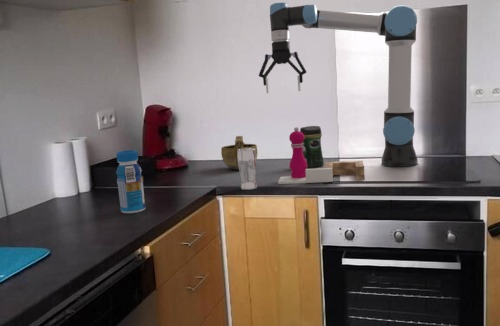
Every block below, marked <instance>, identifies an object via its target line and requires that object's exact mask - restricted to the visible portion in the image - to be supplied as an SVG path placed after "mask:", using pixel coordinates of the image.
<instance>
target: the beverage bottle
mask: <svg viewBox="0 0 500 326" xmlns="http://www.w3.org/2000/svg"><path fill="white" fill-rule="evenodd" d="M138 160H139V154H138V150H135V149H132V150H131V149H129V150H121V151H117V152H116V161H117V163H119V164H118V166H117V168H116V173H115V174H116V175H117V179H116V183H117V188H118V189H117V190H118V197H119V206H120V207H119V209H120V212H121V213H122V214H135V213H140V212H143V211H145V210H146V200H145V192H144V189H145V188H144V176H143V175H142V172H143V170H142V168H141V166H140V164H139V163H138Z"/></svg>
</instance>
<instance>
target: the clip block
mask: <svg viewBox="0 0 500 326" xmlns="http://www.w3.org/2000/svg"><path fill="white" fill-rule="evenodd" d="M324 168H332V174H333V176H343V175H346V176H347V175H355V178H356V180H358V179H359V180H365V179H366V178H365V177H366V176H365V164H364V162H363V160H349V161H348V160H346V161H344V160H343V161H324ZM359 180H358V181H359Z"/></svg>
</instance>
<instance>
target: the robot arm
mask: <svg viewBox="0 0 500 326" xmlns="http://www.w3.org/2000/svg"><path fill="white" fill-rule="evenodd" d="M269 20H270V21H269V22H270V34H271V35H270V37H271V38H270V39H271V41H272V43H271V50H272V51H271V54H265V55H264V61H263V63H262V66H261V68H260V71H259V73H258V77H260V78H262V79H263V80H262V81H263V83H262V84H263V86H265V88H266V89H265V90H266V94H270V85H269V77H268V76H269V74H270V73H271V72H272V70H273V68H274V67H275V66H276V65H282V64H284V65H285V64H289V66H290V67H291V68H292V69H293V70H294V71H295V73H297V74H298V75H297V89H298V91H297V92H300V91H301V90H302V89H301V84H303V82H304V81H303V75H305V74H307V70H306V67H305V66H304V65H303V62H302V61H301V59H300V58H299V54H298V52H297V51H294V52H291V45H290V44H291V43H290V41H289V40H290V30H289V28H290V27H292V26H302V27H303V28H304V29H326V30H336V31H337V30H338V31H350V32H351V31H353V32H363V33H365V32H366V33H375V34H378V36H383V37H384V43H385V44H386V46H388V82H387V83H388V87H387V93H388V94H387V95H388V96H387V108H385V110H384V111H383V128H382V133H383V137H384V141H385V142H384V143H385V144H384V149H383V150H384V151H383V154H382V157H381V165H382V166H384V167H393V168H394V167H396V168H397V167H400V168H401V167H403V168H404V167H412V166H416V165H418V164H419V163H418V162H419V161H418V156H417V154H416V153H417V152H416V151H415V148H414V136H415V110H414V109H413V108H412V107H411V95H412V94H411V92H412V91H411V89H412V87H411V86H412V85H411V84H412V51H413V50H412V48H413V47H412V46H413V45H414V44H415V43H416V42H417V24H418V15H417V13H416V12H415V10H414V9H413V8H411V7H409V6H408V5H396V6H394V7H393V8H391V9H390V10H389V11H382V12H380V13H379V14H378V13H368V12H367V13H365V12H350V11H348V12H347V11H335V10H334V11H333V10H320V9H319V10H318V9H317V6H316V5H315V4H305V5H296V6H288V3H286V2H276V3H275V2H274V3H272V4H270V6H269ZM291 57H293V58H295V61H296V62H297V64H298V65H299V68H300V69H301V70H300V69H299V68H298V67H297V66H296V65H295V63H293V62H292V60H290V59H291ZM271 58H272V60H273V61H272V62H271V63H270V65H269V67H268V68H267V65H268V64H269V63H268V62H269V60H270V59H271ZM266 68H267V70H266ZM265 70H266V71H265Z"/></svg>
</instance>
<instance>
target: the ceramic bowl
mask: <svg viewBox="0 0 500 326" xmlns="http://www.w3.org/2000/svg"><path fill="white" fill-rule="evenodd" d="M243 140H244V137H243V135H237V136H235V139H234V144H230V145H224V146H221V149H220V150H221V151H220V152H221V158H222V161H223V164H224V165H225V166H226V167H228V168H230V169H231V170H232V169H233V170H236V171H239V166H238V149H243V148H255V154H256V160H257V158H258V147H257V144H255V143H254V144H253V143H245V142H244V141H243Z"/></svg>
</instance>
